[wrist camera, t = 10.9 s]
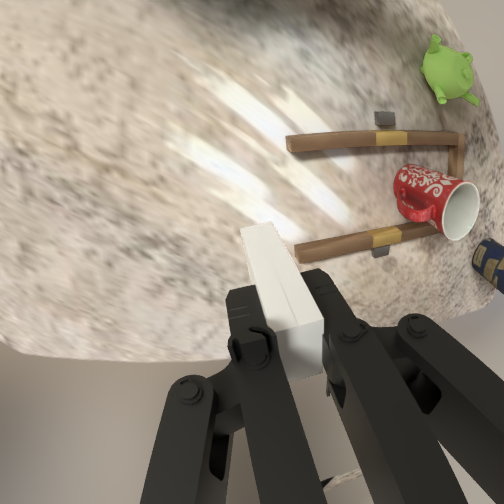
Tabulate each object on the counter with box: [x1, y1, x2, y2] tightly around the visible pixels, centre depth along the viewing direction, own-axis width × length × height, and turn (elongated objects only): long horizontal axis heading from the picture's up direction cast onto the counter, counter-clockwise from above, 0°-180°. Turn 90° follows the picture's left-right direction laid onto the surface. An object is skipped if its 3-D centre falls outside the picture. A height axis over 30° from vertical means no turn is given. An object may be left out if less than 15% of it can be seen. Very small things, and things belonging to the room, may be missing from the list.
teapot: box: [420, 35, 480, 107], centre depth 31 cm, size 11×12×8 cm
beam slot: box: [286, 112, 465, 264], centre depth 42 cm, size 25×34×2 cm
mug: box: [394, 164, 480, 241], centre depth 38 cm, size 13×9×14 cm
